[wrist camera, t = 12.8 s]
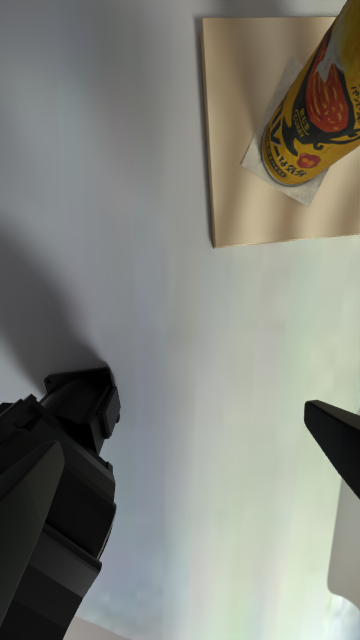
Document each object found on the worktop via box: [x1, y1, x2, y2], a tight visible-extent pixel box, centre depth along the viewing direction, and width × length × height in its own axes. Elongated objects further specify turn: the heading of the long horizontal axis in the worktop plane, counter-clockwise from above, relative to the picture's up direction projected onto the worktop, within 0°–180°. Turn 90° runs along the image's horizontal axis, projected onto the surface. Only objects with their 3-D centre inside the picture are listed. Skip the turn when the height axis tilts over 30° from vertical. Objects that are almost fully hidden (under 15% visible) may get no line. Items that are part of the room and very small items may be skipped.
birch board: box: [200, 17, 360, 248], centre depth 16 cm, size 16×16×1 cm
